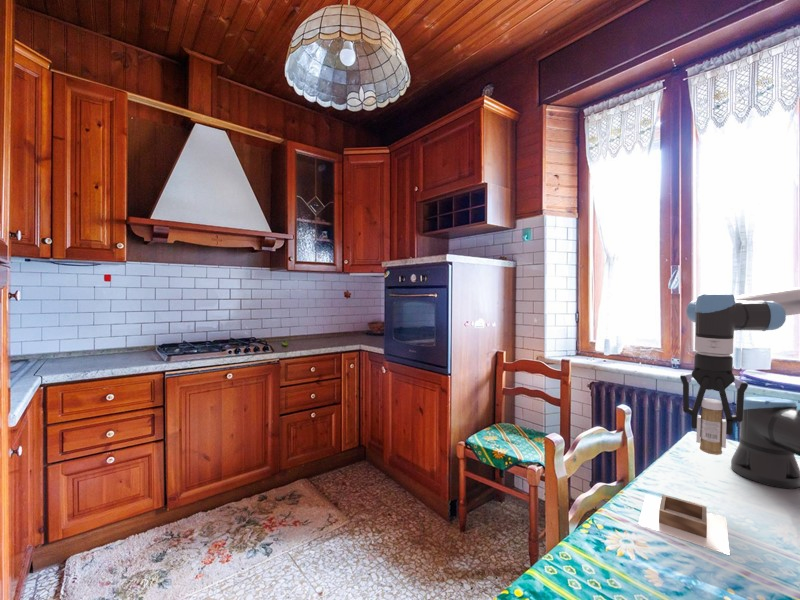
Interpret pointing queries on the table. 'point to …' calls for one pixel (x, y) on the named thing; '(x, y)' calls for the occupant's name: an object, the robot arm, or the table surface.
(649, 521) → the tile
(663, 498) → the collar
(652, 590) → the table surface
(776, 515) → the table surface
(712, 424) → the sprinkles bottle
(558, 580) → the table surface
